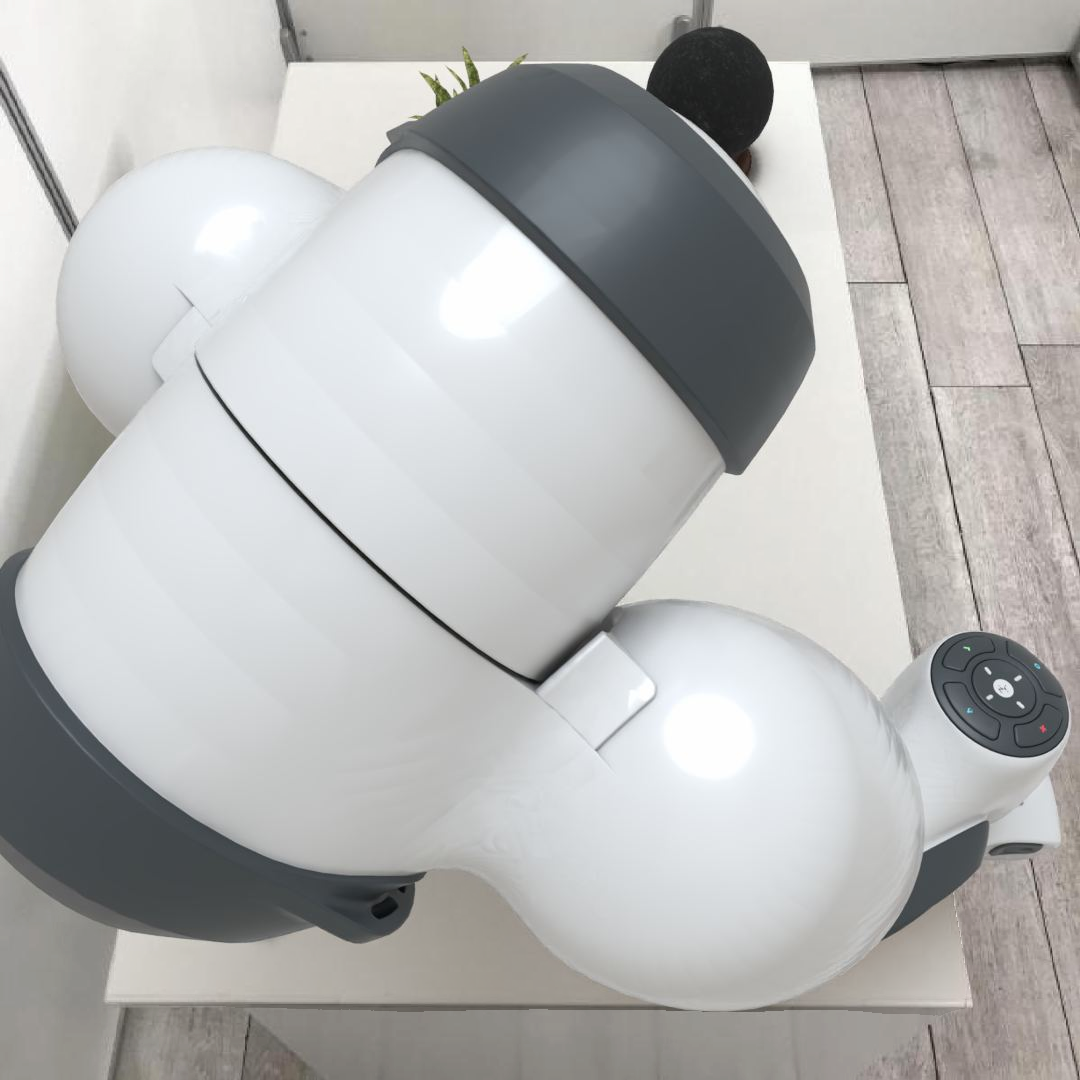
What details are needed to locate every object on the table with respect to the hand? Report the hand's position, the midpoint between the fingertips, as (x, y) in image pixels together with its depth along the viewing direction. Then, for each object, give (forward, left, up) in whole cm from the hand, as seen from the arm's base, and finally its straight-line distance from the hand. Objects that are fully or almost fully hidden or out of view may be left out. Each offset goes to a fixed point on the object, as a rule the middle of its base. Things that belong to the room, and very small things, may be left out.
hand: (855, 851), depth 77 cm
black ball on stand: (+32, +69, -2) cm, 76 cm away
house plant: (+9, +74, -2) cm, 75 cm away
